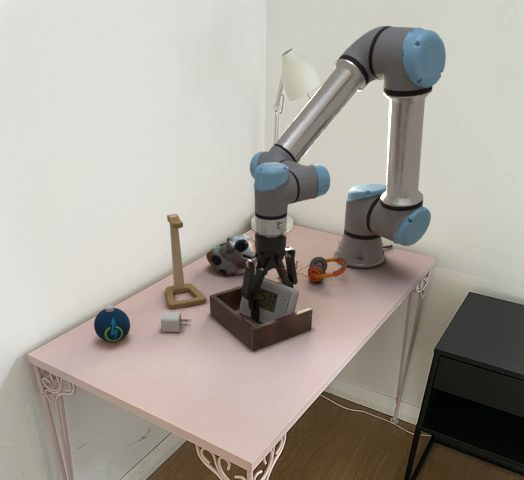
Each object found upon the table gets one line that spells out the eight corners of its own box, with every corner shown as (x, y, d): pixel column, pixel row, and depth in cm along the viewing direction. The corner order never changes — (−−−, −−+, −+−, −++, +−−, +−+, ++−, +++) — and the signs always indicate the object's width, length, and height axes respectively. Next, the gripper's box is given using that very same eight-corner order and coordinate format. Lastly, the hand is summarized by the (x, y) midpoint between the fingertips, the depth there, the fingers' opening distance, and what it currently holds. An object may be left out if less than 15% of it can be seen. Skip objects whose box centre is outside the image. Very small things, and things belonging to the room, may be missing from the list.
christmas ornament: (92, 348, 129) (84, 312, 123) (103, 329, 136) (96, 294, 130) (126, 350, 128) (121, 313, 123) (136, 331, 135) (131, 296, 130)
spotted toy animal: (237, 254, 174) (257, 221, 165) (254, 281, 169) (275, 248, 160) (198, 253, 164) (217, 217, 155) (215, 281, 159) (235, 246, 150)
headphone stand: (169, 309, 144) (161, 231, 132) (160, 291, 153) (152, 216, 140) (207, 303, 147) (202, 226, 135) (196, 285, 156) (191, 211, 144)
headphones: (277, 294, 157) (345, 286, 152) (273, 277, 155) (342, 269, 149) (286, 269, 171) (349, 262, 165) (283, 254, 168) (347, 246, 163)
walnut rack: (265, 297, 150) (265, 278, 147) (311, 329, 136) (312, 309, 133) (210, 315, 142) (209, 295, 139) (253, 351, 128) (253, 330, 125)
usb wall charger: (165, 324, 138) (163, 311, 136) (192, 325, 138) (191, 311, 136) (162, 332, 135) (160, 319, 133) (189, 333, 135) (188, 319, 132)
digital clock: (235, 313, 143) (235, 277, 137) (261, 302, 148) (261, 267, 142) (277, 338, 133) (279, 300, 127) (303, 325, 138) (305, 288, 132)
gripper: (241, 247, 120) (243, 333, 132) (315, 227, 130) (310, 309, 142) (223, 236, 125) (227, 320, 138) (296, 218, 135) (293, 298, 148)
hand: (269, 314), depth 140 cm, fingers closed on digital clock, 8 cm apart
